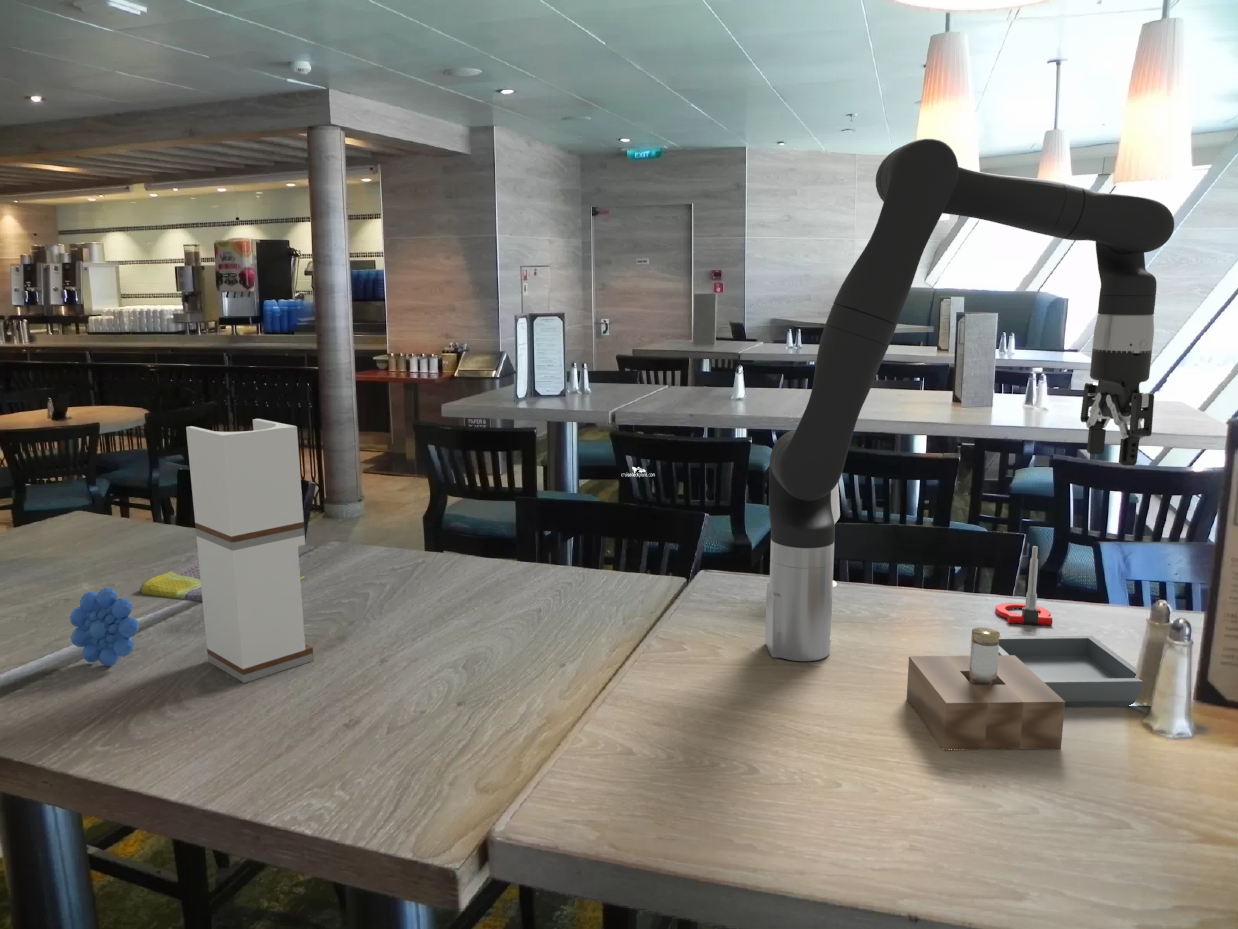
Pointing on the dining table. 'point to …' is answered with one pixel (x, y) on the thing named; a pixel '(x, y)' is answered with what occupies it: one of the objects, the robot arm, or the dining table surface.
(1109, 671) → the tray
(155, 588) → the dish towel
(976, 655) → the pin
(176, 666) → the dining table surface
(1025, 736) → the block
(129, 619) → the blue beaded flower
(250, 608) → the white open tower
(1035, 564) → the tow hook
